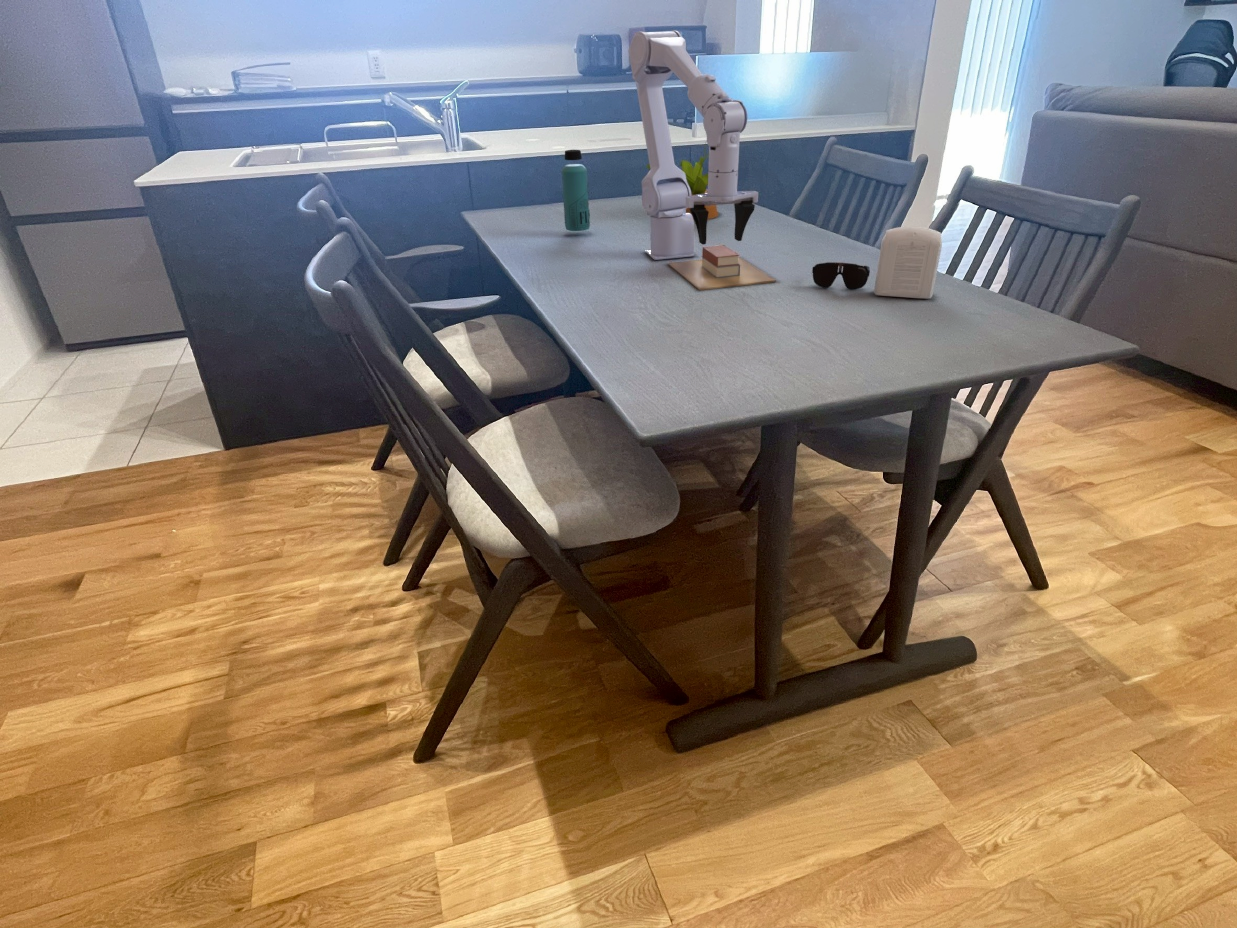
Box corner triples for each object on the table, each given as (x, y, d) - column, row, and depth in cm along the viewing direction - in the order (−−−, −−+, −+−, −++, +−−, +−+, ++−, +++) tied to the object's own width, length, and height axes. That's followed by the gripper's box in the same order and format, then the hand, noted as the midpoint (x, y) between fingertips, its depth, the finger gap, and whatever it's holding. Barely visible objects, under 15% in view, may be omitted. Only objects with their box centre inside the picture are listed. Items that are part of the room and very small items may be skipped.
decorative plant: (739, 223, 193) (744, 118, 181) (647, 226, 194) (645, 121, 181) (727, 203, 216) (731, 109, 204) (645, 206, 217) (644, 112, 205)
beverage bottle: (581, 238, 184) (576, 152, 175) (559, 235, 188) (553, 151, 178) (595, 232, 189) (591, 148, 179) (574, 230, 192) (569, 147, 182)
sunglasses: (809, 287, 142) (812, 261, 140) (816, 279, 152) (819, 254, 150) (866, 291, 139) (870, 264, 137) (869, 282, 149) (873, 256, 147)
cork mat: (737, 257, 164) (737, 256, 163) (775, 282, 147) (775, 280, 146) (668, 264, 160) (668, 262, 160) (699, 290, 144) (699, 288, 143)
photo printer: (931, 293, 137) (944, 225, 131) (933, 300, 133) (945, 230, 127) (873, 290, 140) (883, 223, 134) (873, 297, 136) (883, 228, 130)
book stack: (723, 264, 158) (724, 244, 155) (739, 275, 150) (740, 254, 148) (701, 266, 157) (701, 246, 155) (716, 278, 149) (717, 257, 147)
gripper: (694, 176, 139) (692, 249, 146) (766, 171, 142) (761, 243, 148) (682, 170, 145) (681, 241, 152) (751, 165, 148) (747, 235, 154)
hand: (720, 241), depth 150 cm, fingers open, 7 cm apart
